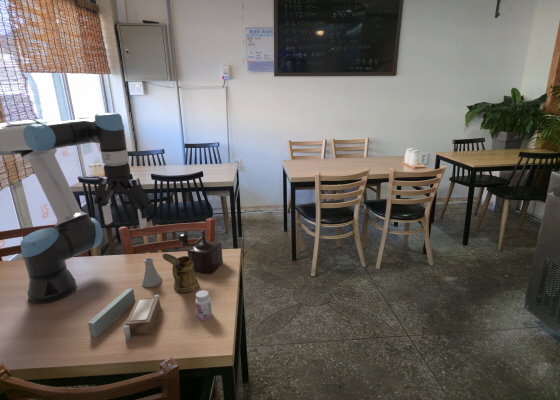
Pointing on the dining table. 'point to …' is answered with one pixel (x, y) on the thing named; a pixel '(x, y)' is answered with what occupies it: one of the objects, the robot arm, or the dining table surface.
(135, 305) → the frame
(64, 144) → the robot arm
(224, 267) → the dining table surface
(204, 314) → the pill bottle
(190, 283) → the wooden mug
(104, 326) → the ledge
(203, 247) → the dark brown coffee grinder
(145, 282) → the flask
